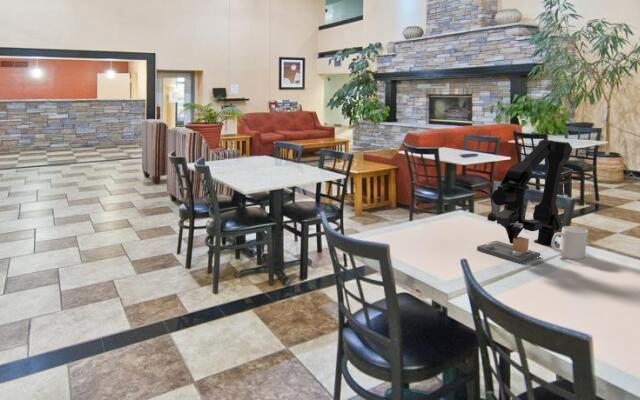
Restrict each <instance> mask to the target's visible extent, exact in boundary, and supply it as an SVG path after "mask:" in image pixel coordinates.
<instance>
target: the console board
mask: <svg viewBox="0 0 640 400" xmlns="http://www.w3.org/2000/svg"><path fill="white" fill-rule="evenodd" d="M512 248H513V244H511V243H510V244H509V243H506V242H504V241H503V242H502V241H499V240H495V241H491V242H486V243H485V244H481V245H478V246H476V251H479V252H481V253H485V254H488V255H492V256H495V257H498V258H501V259H504V260H506V261H507V260H508V261H510V260H511V261H510V262H513V261H515V263H517V262H519V263H518V264H520V263H522V264H524V263H523V262H525V263H527V262H526V261H528V262H530V261H529V260H531V259H533V260H535V259H534V258H536V259H538V258H537V257H539V256H540V257H541V252H538V251H535V250H530V249H528V251H525V252H522V253H521V251H518V250H512ZM540 257H539V258H540ZM531 261H532V260H531Z"/></svg>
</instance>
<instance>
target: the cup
mask: <svg viewBox="0 0 640 400" xmlns="http://www.w3.org/2000/svg"><path fill="white" fill-rule="evenodd" d="M588 234H589V229H586V228H585V227H580V226H574V225H565V226H561V232H559V231H558V232H555V235H554V236H553V238H552V243H551V245H550V246H551V249H552V250H553V251H555V252H558V253H559V255H560V257H562V258H564V259H569V260H574V261H575V260H576V261H577V260H579V261H580V260H583V259H584V258H585V256H586V250H587V249H586V248H587V244H588V243H587V242H588V236H589V235H588ZM557 237H560V242H559V248H557V247H556V244H555V241H556V239H557Z"/></svg>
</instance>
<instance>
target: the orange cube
mask: <svg viewBox="0 0 640 400" xmlns="http://www.w3.org/2000/svg"><path fill="white" fill-rule="evenodd" d="M529 240H530V239H529V238H526V237H523V236H518V237H517V238H513V244H512V245H513V248H512V250H518V251H521V253H522V252H525V251H528V250H529V242H530V241H529Z"/></svg>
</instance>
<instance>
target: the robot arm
mask: <svg viewBox="0 0 640 400" xmlns="http://www.w3.org/2000/svg"><path fill="white" fill-rule="evenodd" d="M572 151H573V146H572V145H571V144H570V143H569V142H565V141H557V140H550V139H541V140H539V141H538V144H537V145H536V146H535V148H533V149H532V150H531V151H530V152H529V153H528V154H527V156H526V157H525V158H524V159H523V160H521V161H520V162H517V163H514V164H513V165H511V166H510V167H509V168H508V169H507V171H506V172H505V175H504V176H503V179H502V180H501V182H500V183H499V184H500V185H498V186H497V189H495V190H494V191H493V192H492V195H491V200H492V201H493V203H494V204H495V205H496V206H498V207H499V206H503V207H504V208H503V210H500V211H498V210H496V211H491V212H489V213H488V214H487V221H489V222H496V224H497V225H500V226H501V227H503V228H504V229H505V231H506V235H507V238H508V241H509V243H510V245H513V238H517V237H519V235H520V233H521V232H522V230H525V231H529V232H536V231H538V234H537V239H534V240H533V242H534V243H537V244H542V245H545V246H549V247H550V246H552V245H551V243H552V238H553V236H554V235H555V234H556V231H561V230H562V227H563V226H562V225H563V223H562V221H561V219H560V218H559V209H558V206H557V203H556V202H557V197H558V192H559V187H560V182H561V177H562V172H563V167H564V166H565V164H567V162H568V161H569V160H570V157H571V154H572ZM545 158H546V160H547V163H548V167H547V170H546V171H547V173H546V176H545V177H546V178H545V183H544V187H543V192H542V197H541V201H540V202H539V203H538V204H535V206H534V210H533V213H532V219H528V220H525V219H526V215H524V210H525V209H526V208H527V204H525V200H526V191H527V190H529V189H530V187H529V185H528V183H530V180H531V179H532V178H533V176H534V175H533V174H534V171H535V169H536V168H537V167H538V166H539V165H540V164H541V163H542V162H543V160H544V159H545ZM557 243H558V241H557V240H555V245H556V244H557Z"/></svg>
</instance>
